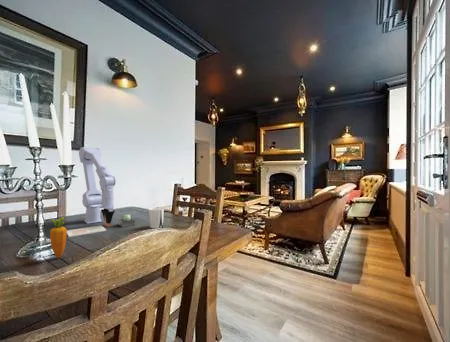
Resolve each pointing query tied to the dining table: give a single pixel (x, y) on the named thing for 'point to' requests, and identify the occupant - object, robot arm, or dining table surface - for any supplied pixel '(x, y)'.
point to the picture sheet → (85, 231)
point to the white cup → (155, 217)
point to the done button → (126, 217)
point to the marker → (106, 223)
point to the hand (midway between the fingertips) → (107, 222)
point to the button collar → (126, 223)
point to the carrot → (58, 237)
